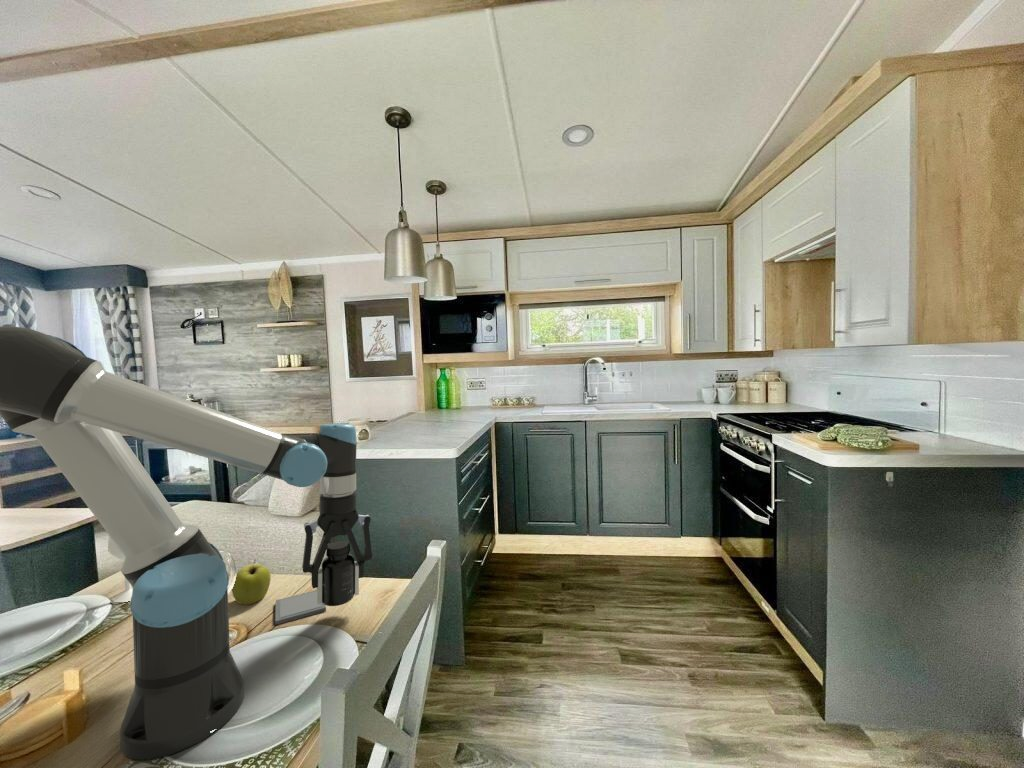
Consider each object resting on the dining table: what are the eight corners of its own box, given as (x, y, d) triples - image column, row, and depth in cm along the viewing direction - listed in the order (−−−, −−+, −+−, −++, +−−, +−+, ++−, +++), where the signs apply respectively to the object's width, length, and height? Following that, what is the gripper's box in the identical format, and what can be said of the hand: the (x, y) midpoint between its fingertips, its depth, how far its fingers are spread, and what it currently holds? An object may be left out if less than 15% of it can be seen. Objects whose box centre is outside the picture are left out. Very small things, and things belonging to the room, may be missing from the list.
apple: (233, 591, 102) (245, 551, 102) (268, 596, 104) (280, 557, 104) (219, 608, 94) (233, 565, 95) (257, 613, 96) (270, 570, 97)
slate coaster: (326, 610, 94) (325, 607, 94) (275, 624, 89) (275, 620, 89) (321, 591, 102) (321, 588, 102) (275, 603, 97) (275, 599, 97)
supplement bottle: (314, 604, 89) (314, 549, 89) (336, 589, 96) (336, 538, 96) (340, 609, 87) (340, 552, 87) (361, 594, 93) (361, 541, 94)
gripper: (380, 484, 100) (380, 579, 99) (287, 495, 90) (287, 600, 90) (387, 491, 93) (387, 593, 93) (288, 503, 83) (287, 617, 83)
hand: (338, 596), depth 91 cm, fingers closed on supplement bottle, 7 cm apart
